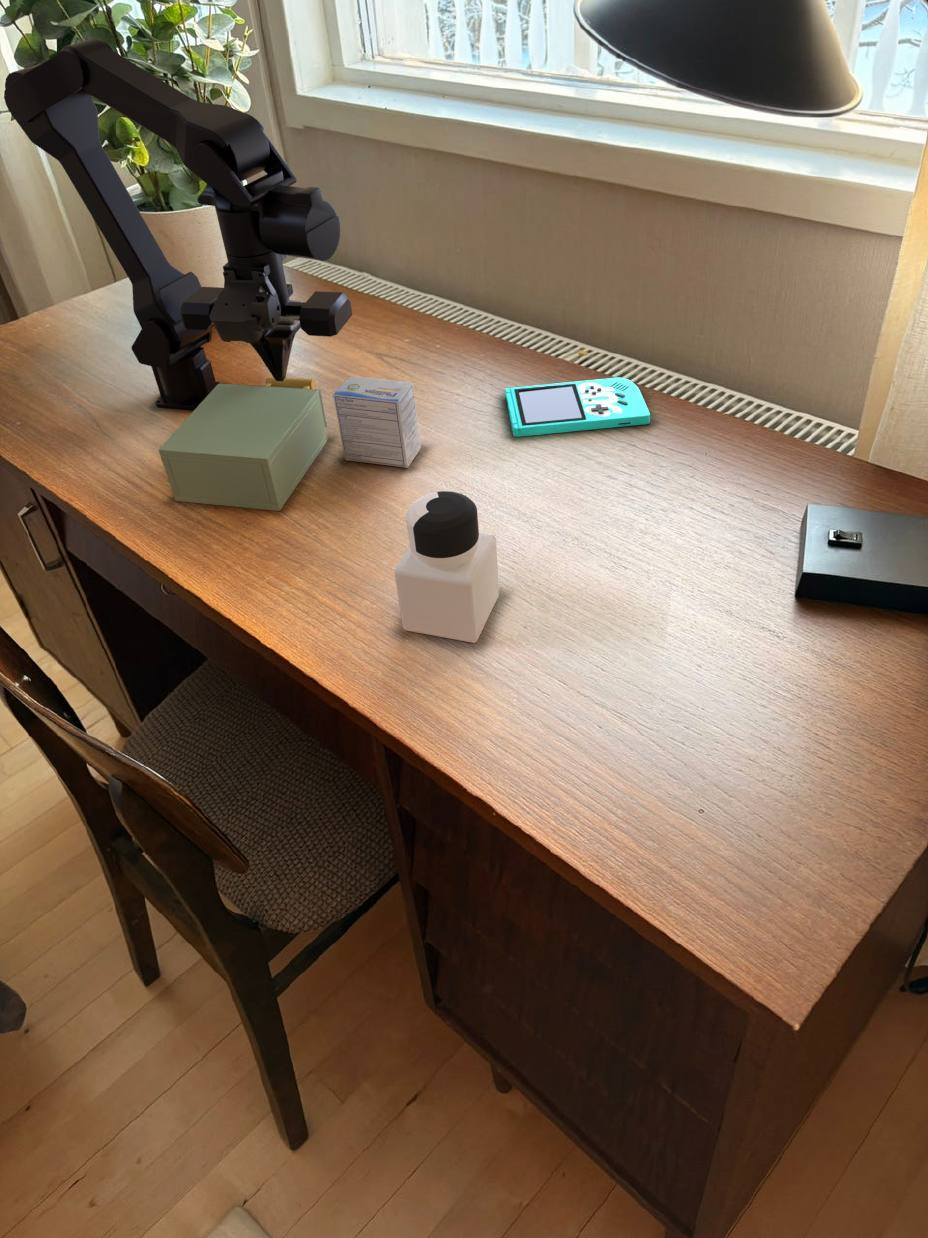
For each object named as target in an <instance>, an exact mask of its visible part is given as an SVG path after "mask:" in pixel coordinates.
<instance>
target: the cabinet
mask: <svg viewBox="0 0 928 1238" xmlns="http://www.w3.org/2000/svg"><path fill="white" fill-rule="evenodd" d="M231 384H232V383H230V384H229V383H220V384H218V385H217V386H216V387H215V388H214V389H213V390H212V391H211V392H210V394H209V395H208V396H207V397H206V398H205V399H204V400H203V401H202V402H201V403H200V405H199V406H198V407H197V408H196V409H193V411H192V412H191V413H190V415H188V416H187V417H186V419H185V420H184V421H182V423H181V424H180V425H179V427H177V428H176V430H175V431H174V432H173V433H172V434H171V435H170V436H169V437H168V438H167V439H166V440H165V442H164V443H163V444H162V445H161V446H160V447H159V448H158V454H159V455H160V459H161V461H162V465H163V468H164V470H165V471H164V472H165V474H166V477H167V480H168V483H169V486H170V489H171V491H172V495H173V498H174V501H175V502H183V503H193V504H203V505H214V506H224V507H233V508H245V509H254V510H264V511H265V510H266V511H272V512H273V511H274V512H275V511H276V512H280V511H281V510H282V509H283V507H284V505H285V504H286V503H287V501H288V500H289V498H290V496H291V495H292V494H293V492H294V491H295V489H296V488H297V486H298V485H299V484H300V482H301V480H303V478H304V476H305V475H306V473H307V472H308V471H309V469H310V468H311V466H312V465H313V463H314V461H315V460H316V458H317V457H318V455H319V454H320V453H321V452H322V450H323V448H324V447H325V446H326V444H327V442H328V441H329V440H328V434H327V428H325V424H324V418H323V413H322V408H321V403H320V397H319V392H318V390H319V389H317V390H308V389H292V388H277V387H261V386H262V385H255V386H246V385H247V384H239V385H231Z"/></svg>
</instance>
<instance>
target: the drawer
mask: <svg viewBox="0 0 928 1238" xmlns="http://www.w3.org/2000/svg"><path fill="white" fill-rule="evenodd" d="M230 384H231V385H240V384H236V383H230ZM245 385H246V386H256V385H253V384H245ZM260 386H261V387H277V388H292V389H308V390H318V392H319V397H320V403H321V408H322V413H323V418H324V424H325V429H327V426H328V425H327V418H326V413H325V408H324V403H323V398H322V393H321V389H318V388H317V381H316V379H315V378H314V379H313V378H301V377H300V378H299V377H287V376H286V377H285V379H284V380H283V381H276V380H275V379H274V377H273V376H267V377H266V380H265V385H260Z"/></svg>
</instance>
